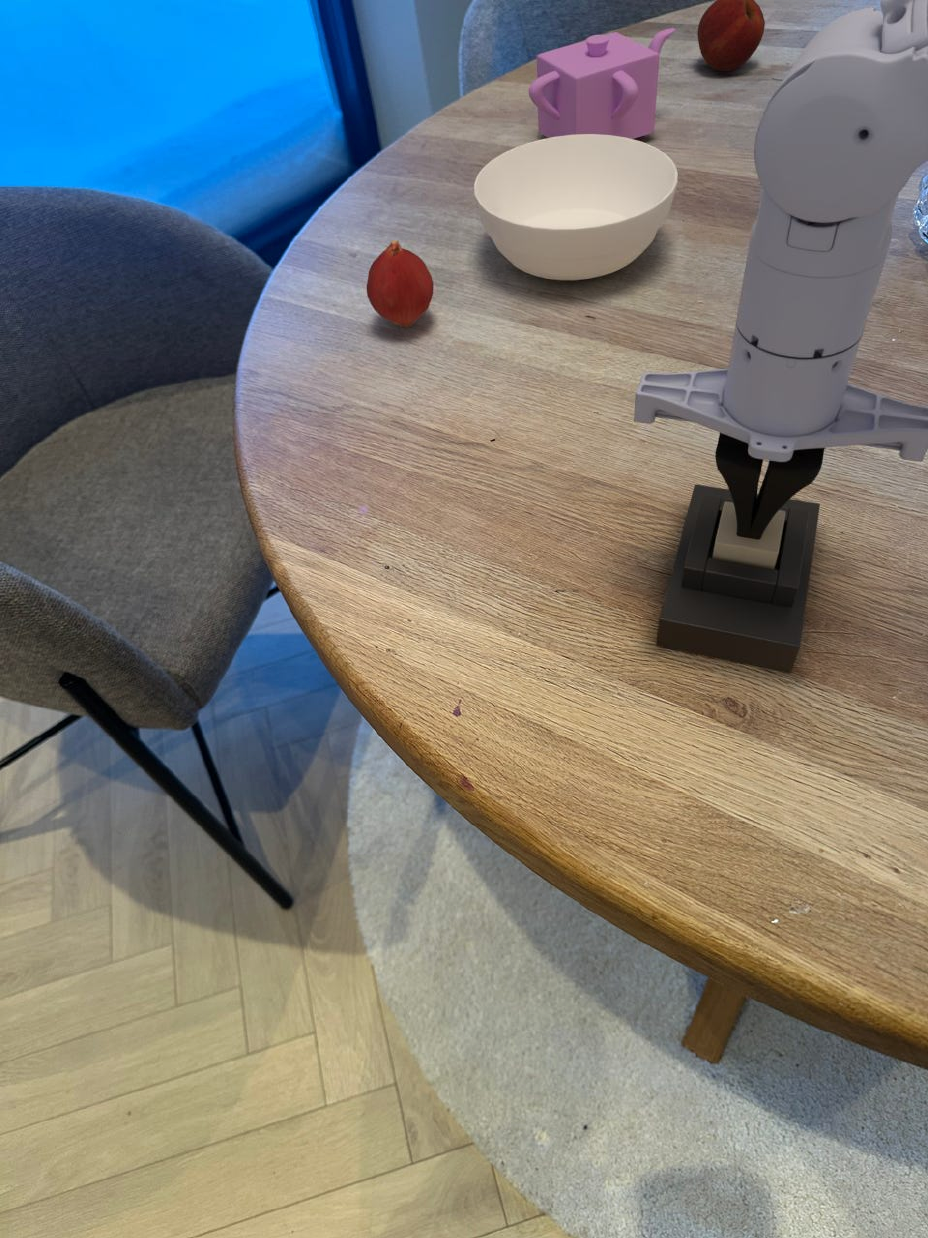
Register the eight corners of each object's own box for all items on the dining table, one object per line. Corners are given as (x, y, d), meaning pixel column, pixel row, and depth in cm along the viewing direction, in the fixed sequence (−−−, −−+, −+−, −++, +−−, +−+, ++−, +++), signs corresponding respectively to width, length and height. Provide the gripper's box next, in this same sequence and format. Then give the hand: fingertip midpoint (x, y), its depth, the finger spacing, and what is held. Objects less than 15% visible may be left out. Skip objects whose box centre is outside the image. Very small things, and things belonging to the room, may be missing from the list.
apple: (730, 85, 103) (741, 7, 96) (679, 72, 107) (686, -4, 100) (768, 65, 105) (780, -13, 99) (717, 52, 109) (726, -23, 103)
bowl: (711, 246, 80) (721, 167, 75) (575, 331, 74) (576, 252, 68) (572, 191, 90) (572, 117, 84) (441, 262, 84) (432, 187, 78)
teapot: (637, 98, 103) (643, -1, 95) (705, 138, 95) (718, 33, 87) (505, 140, 99) (500, 40, 91) (564, 184, 91) (564, 79, 83)
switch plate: (690, 512, 59) (698, 463, 56) (810, 532, 57) (826, 482, 54) (655, 645, 53) (662, 599, 49) (790, 674, 50) (807, 627, 47)
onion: (363, 336, 77) (344, 251, 71) (395, 302, 80) (380, 218, 74) (418, 349, 75) (404, 263, 69) (449, 314, 78) (438, 228, 72)
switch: (720, 523, 54) (724, 500, 52) (779, 533, 53) (785, 510, 51) (710, 564, 52) (715, 542, 50) (772, 575, 51) (778, 553, 49)
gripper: (627, 354, 40) (614, 552, 50) (969, 395, 36) (877, 600, 46) (657, 274, 44) (640, 473, 54) (968, 303, 40) (884, 511, 50)
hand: (750, 526), depth 51 cm, fingers closed, pressing on switch
